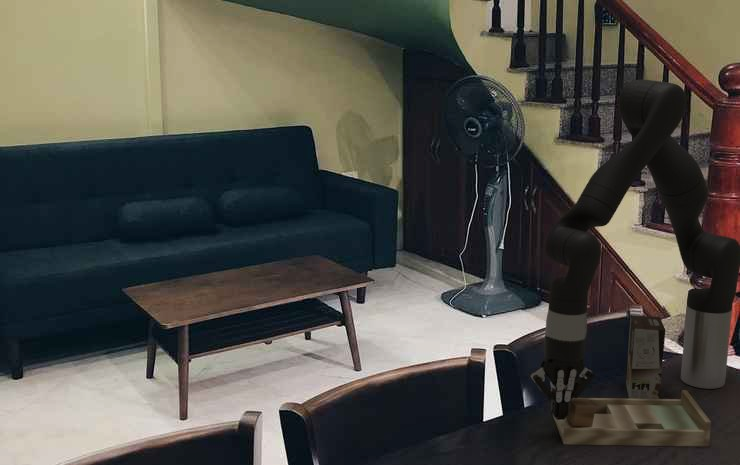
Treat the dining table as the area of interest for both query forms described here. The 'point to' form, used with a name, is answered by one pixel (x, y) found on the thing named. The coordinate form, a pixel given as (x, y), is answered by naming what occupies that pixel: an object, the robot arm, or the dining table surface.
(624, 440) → the tray
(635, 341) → the coffee box
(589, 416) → the walnut block
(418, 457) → the dining table surface
